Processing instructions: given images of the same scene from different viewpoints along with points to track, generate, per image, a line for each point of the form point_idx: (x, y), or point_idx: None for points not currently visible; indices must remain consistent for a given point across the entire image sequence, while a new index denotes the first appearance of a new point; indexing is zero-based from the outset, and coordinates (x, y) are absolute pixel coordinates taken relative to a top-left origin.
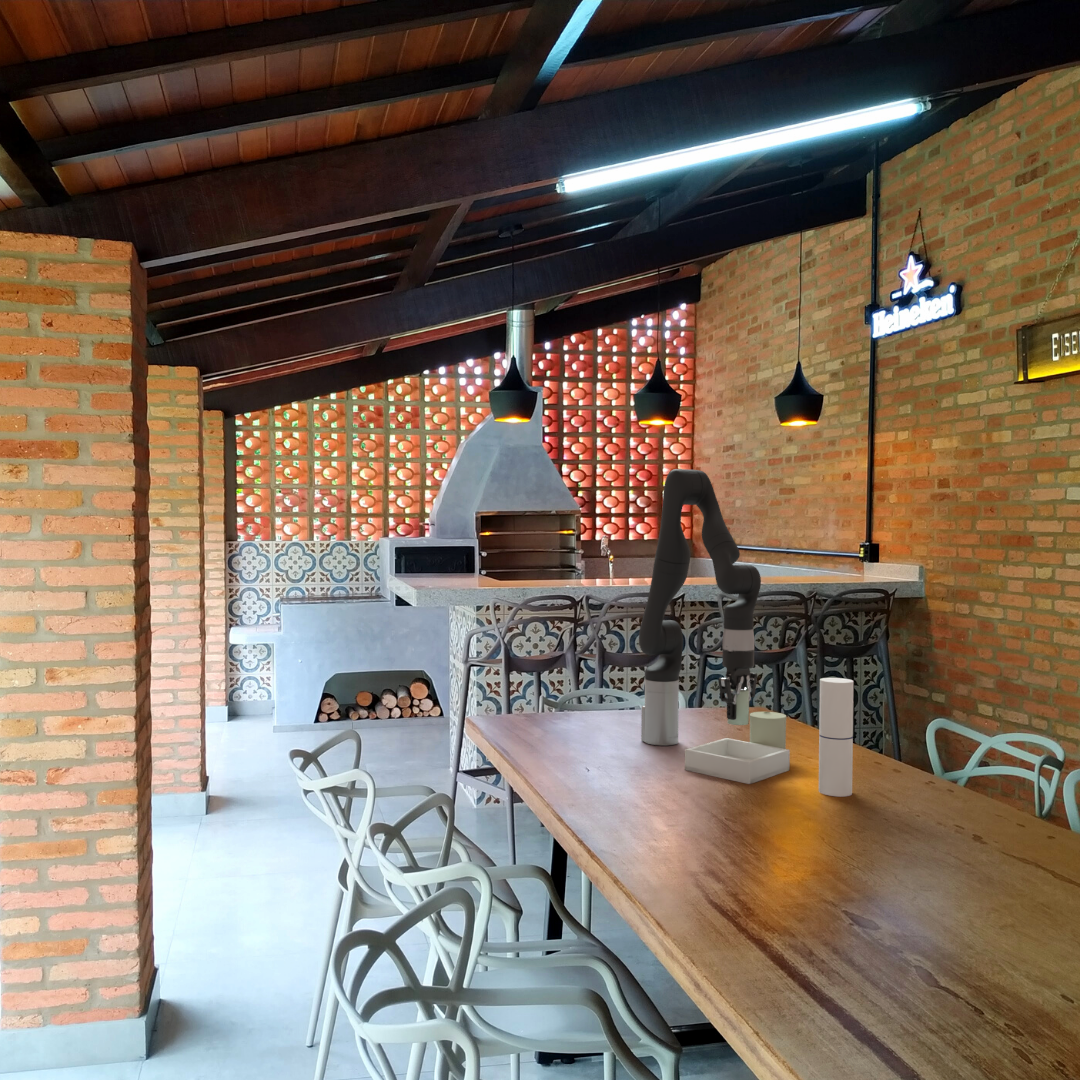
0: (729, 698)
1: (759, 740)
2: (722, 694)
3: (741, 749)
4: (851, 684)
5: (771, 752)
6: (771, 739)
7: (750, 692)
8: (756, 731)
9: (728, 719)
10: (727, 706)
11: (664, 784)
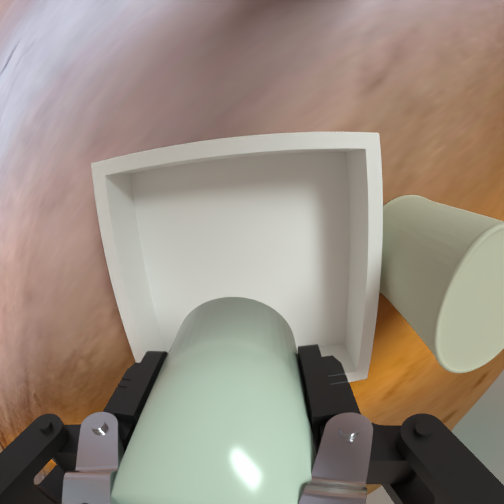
0: (64, 474)
1: (392, 283)
2: (24, 455)
3: (357, 212)
4: None
5: (356, 328)
6: (405, 319)
7: (400, 481)
8: (409, 281)
9: (176, 335)
10: (108, 410)
11: (23, 233)
